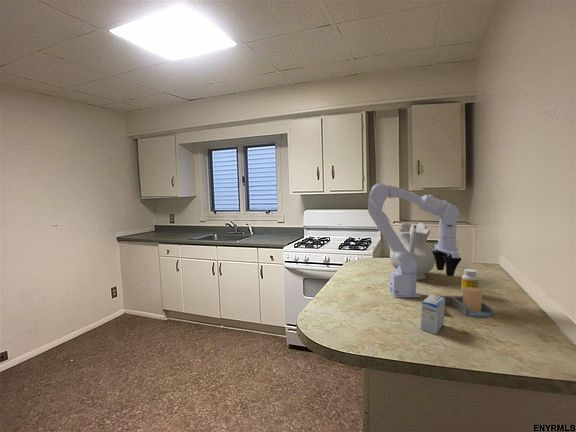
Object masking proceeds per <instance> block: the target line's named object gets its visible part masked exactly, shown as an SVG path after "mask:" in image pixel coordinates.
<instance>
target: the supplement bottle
mask: <svg viewBox="0 0 576 432" xmlns="http://www.w3.org/2000/svg"><path fill="white" fill-rule="evenodd" d="M478 283H479V277H478V276H477V270H475V269H470V268H465V269H464V271H463V275H461V285H460V286H461V288H460V294H461V296H463V287H476V288H477V289H478Z"/></svg>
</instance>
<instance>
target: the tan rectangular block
mask: <svg viewBox="0 0 576 432" xmlns="http://www.w3.org/2000/svg"><path fill="white" fill-rule="evenodd" d="M462 296H463V301H462V304H464V305H465V306H467V307H468V308H469V312H481V302H483V301H482V298H483V291H482V289H481V290H480V289H479V288H478V287H477V288H476V287H463V295H462Z"/></svg>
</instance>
